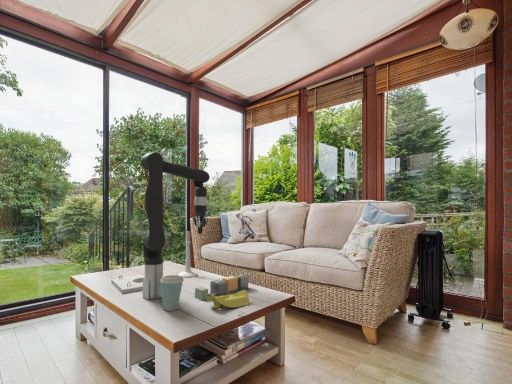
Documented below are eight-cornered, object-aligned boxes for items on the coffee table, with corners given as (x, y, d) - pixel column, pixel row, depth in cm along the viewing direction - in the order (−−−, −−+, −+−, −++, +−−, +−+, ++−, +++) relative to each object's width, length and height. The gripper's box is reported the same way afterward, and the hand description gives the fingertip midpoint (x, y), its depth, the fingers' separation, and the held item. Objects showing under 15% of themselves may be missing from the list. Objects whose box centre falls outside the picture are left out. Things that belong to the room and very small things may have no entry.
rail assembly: (214, 299, 151) (214, 284, 151) (205, 296, 155) (205, 282, 156) (249, 288, 170) (249, 275, 170) (240, 285, 175) (240, 273, 175)
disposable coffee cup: (158, 306, 140) (158, 274, 141) (181, 303, 144) (181, 272, 145) (160, 314, 130) (161, 279, 131) (185, 310, 135) (185, 277, 135)
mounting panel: (175, 276, 177) (122, 285, 159) (175, 285, 177) (122, 294, 159) (160, 268, 198) (111, 275, 180) (159, 276, 198) (111, 283, 180)
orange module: (228, 291, 159) (228, 279, 159) (222, 289, 163) (222, 277, 163) (237, 288, 164) (237, 276, 165) (231, 286, 168) (231, 275, 168)
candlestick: (186, 278, 190) (186, 232, 191) (173, 275, 197) (174, 230, 198) (201, 275, 200) (201, 230, 201) (188, 272, 208) (189, 229, 209)
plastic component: (235, 293, 153) (247, 288, 146) (238, 308, 150) (250, 304, 144) (202, 298, 140) (213, 293, 134) (204, 315, 137) (216, 311, 131)
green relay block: (201, 300, 149) (201, 290, 149) (194, 297, 153) (195, 287, 153) (208, 298, 152) (208, 288, 152) (201, 295, 156) (201, 286, 156)
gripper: (188, 204, 178) (188, 233, 178) (202, 204, 169) (201, 235, 168) (199, 204, 184) (198, 232, 183) (212, 204, 175) (211, 234, 174)
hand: (200, 233), depth 176 cm, fingers closed
